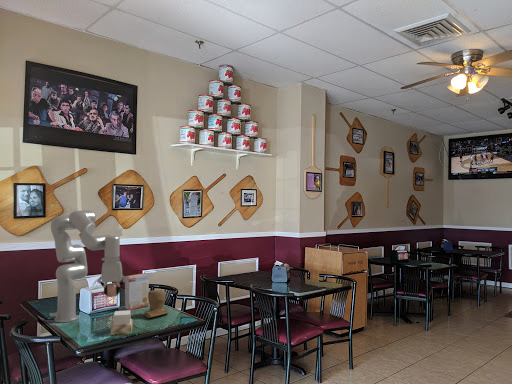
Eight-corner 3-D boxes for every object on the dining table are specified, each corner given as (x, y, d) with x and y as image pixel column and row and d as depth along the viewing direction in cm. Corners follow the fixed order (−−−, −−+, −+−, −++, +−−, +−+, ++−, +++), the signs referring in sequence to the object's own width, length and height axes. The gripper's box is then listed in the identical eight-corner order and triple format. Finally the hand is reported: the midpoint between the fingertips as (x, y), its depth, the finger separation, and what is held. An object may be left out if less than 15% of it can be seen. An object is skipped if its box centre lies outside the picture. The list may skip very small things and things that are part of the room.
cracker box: (144, 304, 269) (144, 272, 269) (148, 306, 265) (149, 274, 265) (124, 308, 259) (124, 275, 259) (129, 310, 255) (129, 277, 255)
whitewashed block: (113, 325, 211) (113, 315, 211) (114, 320, 219) (114, 311, 219) (129, 323, 213) (130, 314, 213) (130, 319, 221) (130, 310, 221)
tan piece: (159, 310, 255) (159, 286, 255) (171, 314, 247) (172, 289, 247) (138, 316, 243) (139, 291, 243) (151, 320, 235) (151, 294, 236)
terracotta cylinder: (106, 297, 211) (106, 285, 211) (107, 294, 216) (107, 283, 217) (116, 296, 212) (116, 284, 212) (117, 294, 217) (117, 282, 218)
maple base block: (110, 335, 210) (110, 325, 210) (113, 329, 220) (113, 320, 220) (131, 334, 212) (131, 324, 212) (132, 328, 222) (132, 318, 222)
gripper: (93, 261, 209) (93, 296, 209) (128, 260, 213) (128, 295, 212) (96, 259, 217) (96, 293, 216) (129, 258, 220) (129, 292, 220)
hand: (112, 294), depth 214 cm, fingers closed on terracotta cylinder, 5 cm apart
